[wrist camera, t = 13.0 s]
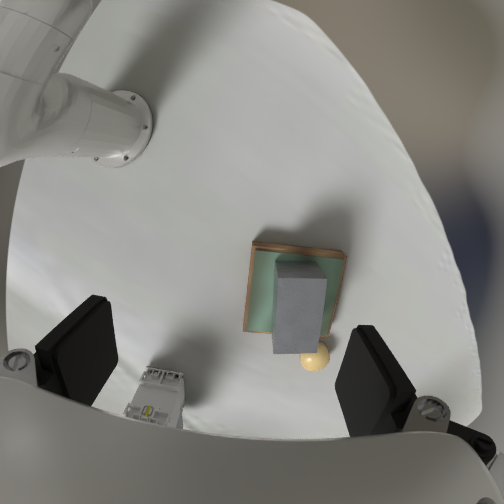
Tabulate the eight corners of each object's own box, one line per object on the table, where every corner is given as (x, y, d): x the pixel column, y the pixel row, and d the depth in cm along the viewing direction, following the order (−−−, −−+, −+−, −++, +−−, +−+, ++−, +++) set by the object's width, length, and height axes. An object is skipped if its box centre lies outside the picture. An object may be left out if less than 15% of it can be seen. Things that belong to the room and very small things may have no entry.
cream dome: (297, 362, 50) (298, 370, 47) (302, 339, 48) (304, 347, 46) (323, 363, 50) (326, 371, 47) (329, 341, 48) (332, 348, 46)
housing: (274, 260, 41) (278, 278, 34) (316, 261, 41) (327, 278, 34) (271, 327, 44) (273, 353, 37) (309, 327, 44) (317, 353, 37)
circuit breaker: (154, 413, 54) (136, 463, 40) (146, 366, 50) (120, 419, 36) (186, 419, 54) (173, 471, 40) (183, 372, 50) (164, 430, 36)
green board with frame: (243, 323, 47) (242, 332, 44) (252, 241, 43) (252, 246, 40) (325, 329, 47) (328, 338, 44) (342, 251, 44) (347, 256, 41)
